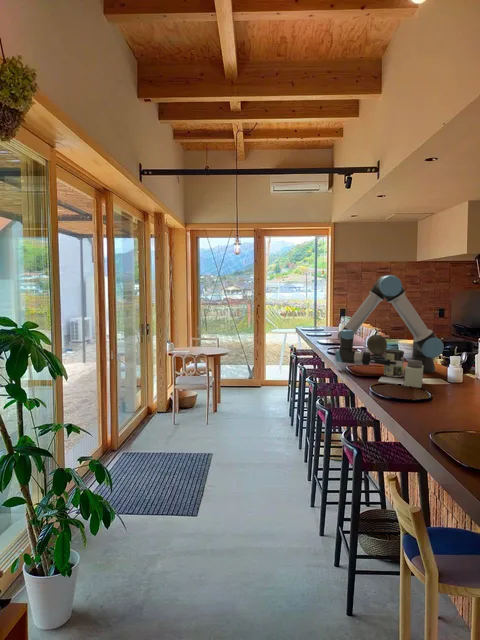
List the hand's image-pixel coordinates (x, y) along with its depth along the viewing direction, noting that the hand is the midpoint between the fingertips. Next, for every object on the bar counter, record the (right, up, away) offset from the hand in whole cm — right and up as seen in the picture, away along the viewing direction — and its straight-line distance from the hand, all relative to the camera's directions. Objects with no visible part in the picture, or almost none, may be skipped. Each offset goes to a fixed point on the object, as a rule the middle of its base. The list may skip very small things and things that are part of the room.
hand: (403, 362), depth 251 cm
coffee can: (-5, -8, +3) cm, 10 cm away
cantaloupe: (+8, -2, +75) cm, 76 cm away
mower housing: (-7, -9, -15) cm, 19 cm away
